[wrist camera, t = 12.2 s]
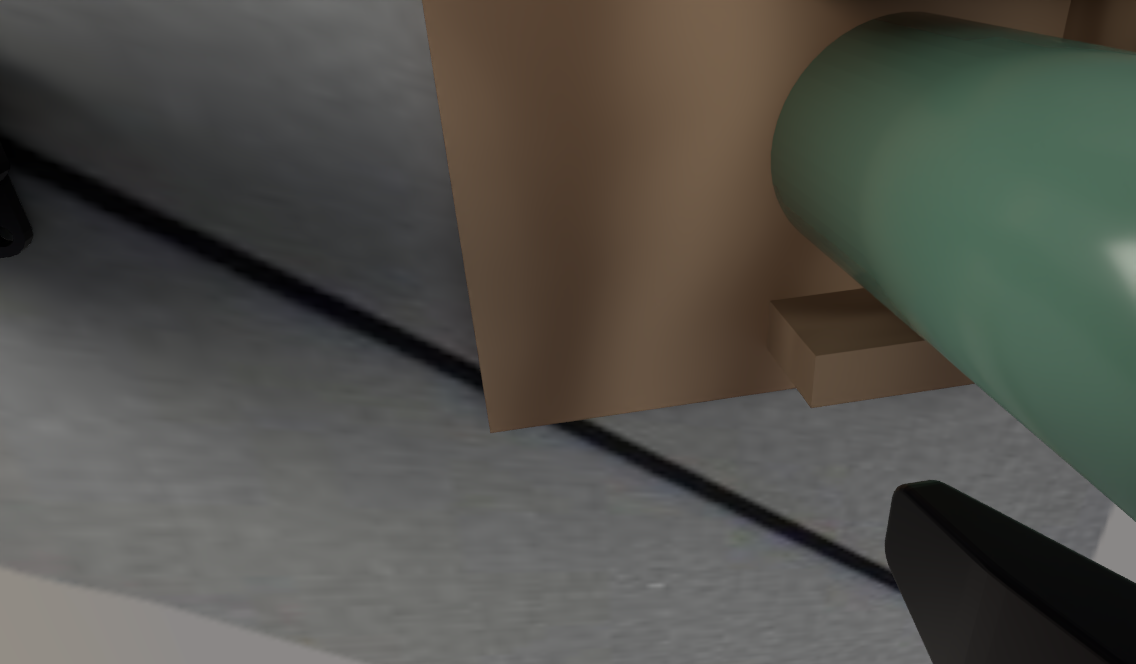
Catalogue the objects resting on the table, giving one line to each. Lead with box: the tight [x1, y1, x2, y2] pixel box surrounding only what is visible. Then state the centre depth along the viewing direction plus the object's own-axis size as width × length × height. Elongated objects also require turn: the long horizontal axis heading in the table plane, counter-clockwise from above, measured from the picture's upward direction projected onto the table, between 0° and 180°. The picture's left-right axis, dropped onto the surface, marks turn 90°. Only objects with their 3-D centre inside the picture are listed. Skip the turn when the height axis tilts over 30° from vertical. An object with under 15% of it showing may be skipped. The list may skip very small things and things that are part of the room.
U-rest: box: [422, 0, 1136, 433], centre depth 18 cm, size 18×14×4 cm
